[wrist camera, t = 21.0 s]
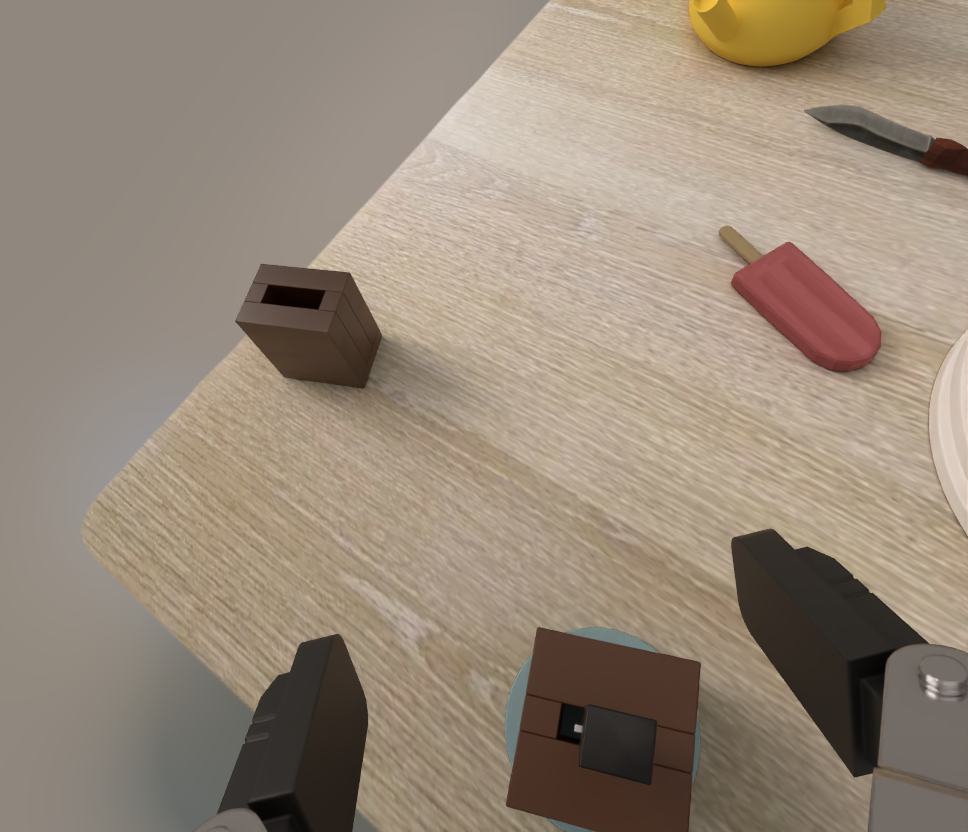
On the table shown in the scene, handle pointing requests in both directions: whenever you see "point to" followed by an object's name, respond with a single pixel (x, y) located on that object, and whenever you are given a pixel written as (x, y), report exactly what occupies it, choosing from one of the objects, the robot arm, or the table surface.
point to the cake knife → (617, 743)
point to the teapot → (775, 26)
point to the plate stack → (952, 428)
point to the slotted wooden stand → (554, 745)
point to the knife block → (311, 324)
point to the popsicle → (805, 305)
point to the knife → (893, 137)
